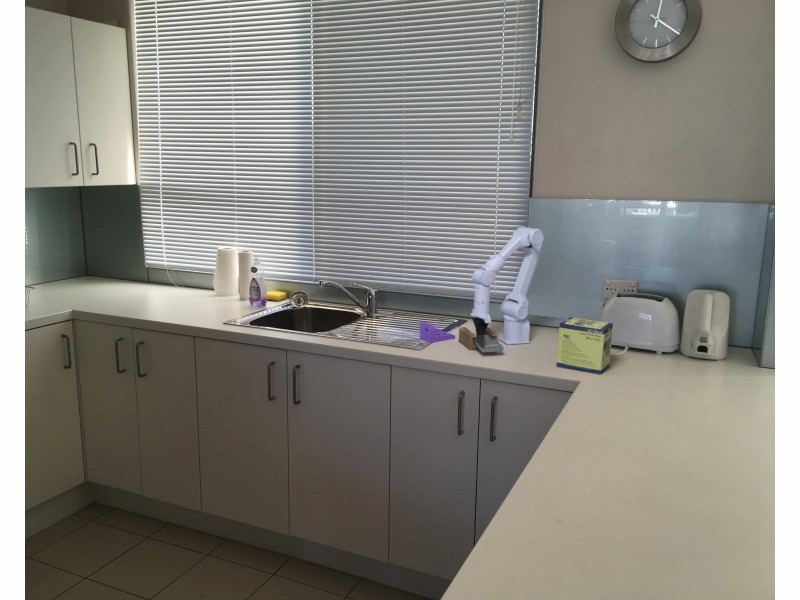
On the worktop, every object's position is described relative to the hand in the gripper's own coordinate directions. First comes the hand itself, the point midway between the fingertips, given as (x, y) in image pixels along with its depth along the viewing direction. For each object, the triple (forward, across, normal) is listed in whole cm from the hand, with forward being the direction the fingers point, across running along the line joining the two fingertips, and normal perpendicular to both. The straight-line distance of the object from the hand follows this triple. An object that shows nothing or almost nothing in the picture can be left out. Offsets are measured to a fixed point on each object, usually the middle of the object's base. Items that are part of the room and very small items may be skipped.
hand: (480, 337), depth 252 cm
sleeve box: (+4, -2, 0) cm, 4 cm away
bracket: (+4, -14, -12) cm, 19 cm away
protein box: (+4, +30, +26) cm, 40 cm away
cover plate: (+1, +7, 0) cm, 7 cm away
